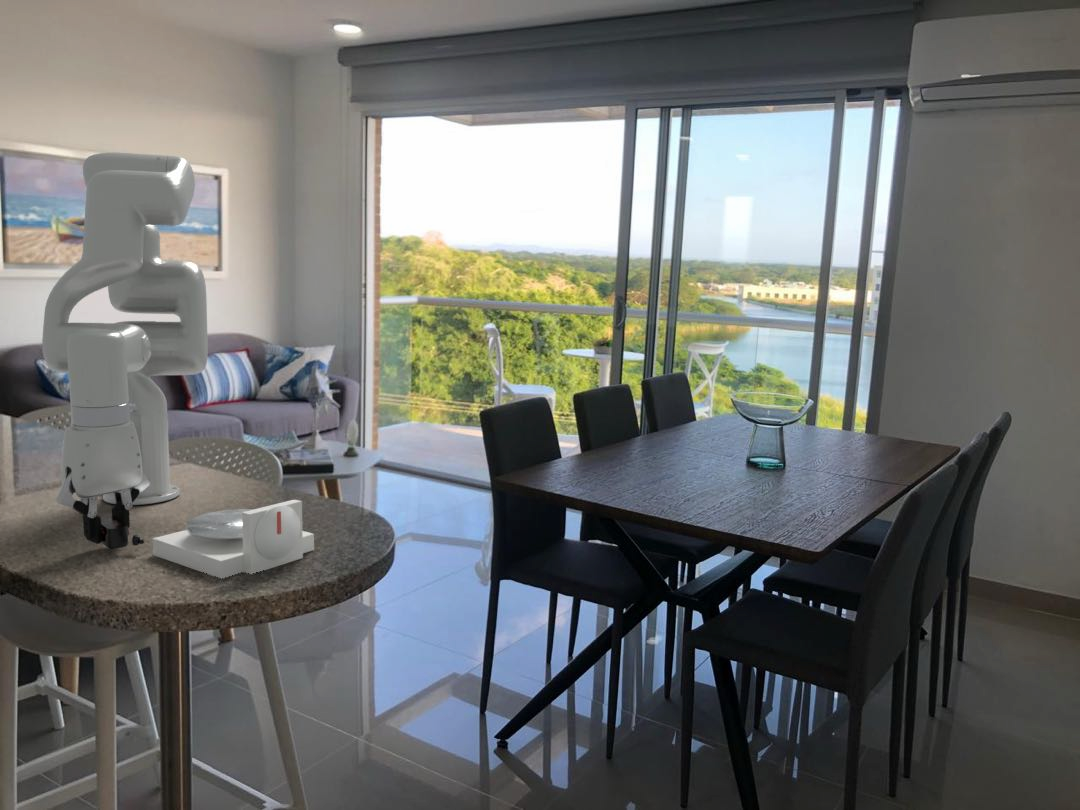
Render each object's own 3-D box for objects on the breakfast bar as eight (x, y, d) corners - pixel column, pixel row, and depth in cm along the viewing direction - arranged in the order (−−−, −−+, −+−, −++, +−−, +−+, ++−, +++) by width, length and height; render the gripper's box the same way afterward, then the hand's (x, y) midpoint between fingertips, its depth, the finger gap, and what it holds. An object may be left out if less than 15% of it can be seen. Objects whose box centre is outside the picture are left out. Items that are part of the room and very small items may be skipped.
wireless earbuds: (111, 552, 124) (110, 531, 124) (94, 539, 129) (93, 518, 129) (145, 546, 128) (144, 524, 127) (127, 533, 133) (126, 513, 132)
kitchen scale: (153, 555, 127) (150, 496, 126) (246, 530, 140) (244, 476, 139) (231, 582, 117) (230, 518, 115) (324, 552, 130) (323, 495, 128)
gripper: (139, 404, 135) (145, 519, 138) (27, 420, 121) (36, 546, 124) (168, 411, 130) (173, 529, 134) (55, 428, 117) (64, 559, 120)
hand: (107, 536), depth 129 cm, fingers closed on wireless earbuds, 3 cm apart
